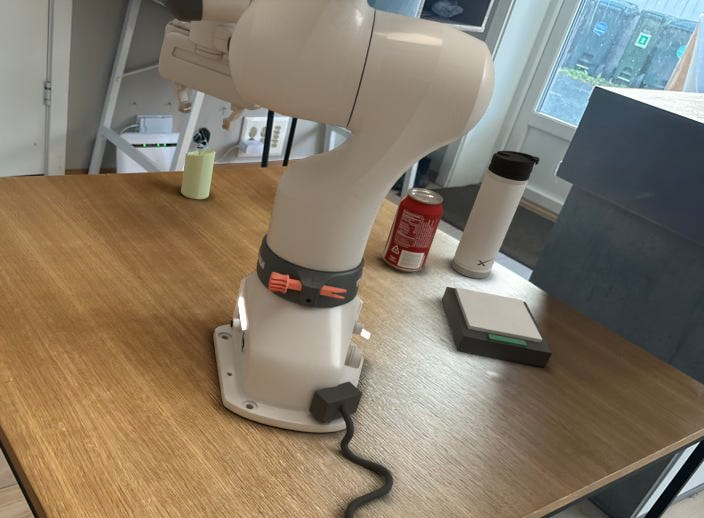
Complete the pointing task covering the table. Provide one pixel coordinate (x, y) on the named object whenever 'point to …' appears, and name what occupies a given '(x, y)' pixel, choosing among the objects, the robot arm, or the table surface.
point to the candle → (197, 174)
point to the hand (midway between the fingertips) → (205, 120)
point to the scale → (494, 327)
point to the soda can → (413, 230)
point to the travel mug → (493, 212)
